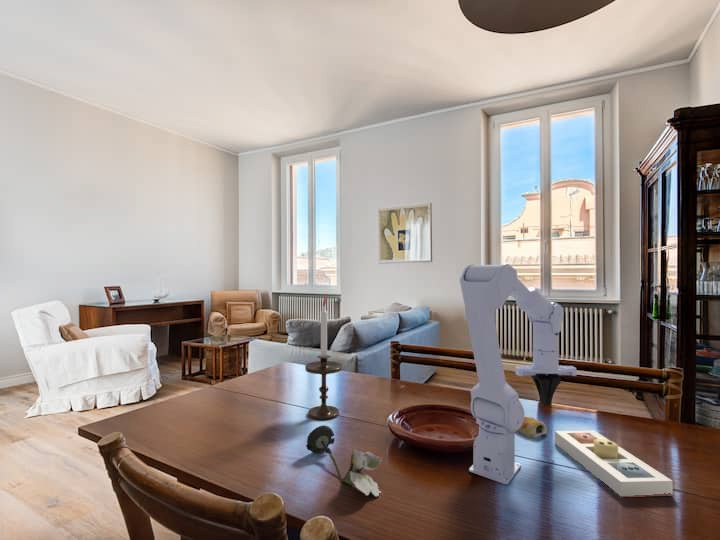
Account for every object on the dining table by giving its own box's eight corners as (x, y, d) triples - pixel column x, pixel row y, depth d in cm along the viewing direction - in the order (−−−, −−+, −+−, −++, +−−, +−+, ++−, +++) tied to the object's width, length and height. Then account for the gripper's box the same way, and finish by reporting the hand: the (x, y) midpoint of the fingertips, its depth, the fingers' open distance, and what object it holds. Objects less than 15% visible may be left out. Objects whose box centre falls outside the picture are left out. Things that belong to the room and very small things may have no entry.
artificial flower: (335, 452, 90) (348, 412, 90) (382, 518, 70) (397, 467, 70) (302, 450, 86) (315, 408, 86) (341, 520, 66) (357, 465, 66)
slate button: (650, 490, 71) (650, 473, 71) (628, 490, 71) (628, 473, 71) (632, 477, 76) (632, 461, 76) (611, 477, 76) (611, 462, 76)
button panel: (672, 496, 70) (672, 480, 70) (621, 497, 69) (621, 481, 69) (594, 442, 92) (594, 430, 92) (554, 443, 91) (554, 431, 91)
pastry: (502, 426, 102) (503, 412, 102) (519, 421, 105) (519, 408, 105) (532, 440, 93) (532, 425, 93) (550, 435, 96) (550, 420, 97)
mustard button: (623, 462, 78) (623, 447, 78) (602, 462, 78) (602, 447, 78) (608, 452, 83) (608, 437, 83) (589, 452, 83) (589, 438, 83)
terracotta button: (600, 454, 85) (600, 440, 85) (581, 454, 85) (581, 440, 85) (587, 445, 90) (587, 431, 90) (570, 445, 90) (570, 432, 90)
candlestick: (344, 408, 114) (344, 295, 114) (338, 422, 104) (339, 297, 104) (310, 406, 115) (310, 294, 116) (301, 420, 105) (301, 297, 105)
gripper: (564, 346, 96) (564, 398, 96) (509, 346, 96) (509, 398, 96) (581, 352, 89) (581, 408, 89) (522, 352, 89) (522, 409, 89)
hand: (545, 404), depth 92 cm, fingers closed
